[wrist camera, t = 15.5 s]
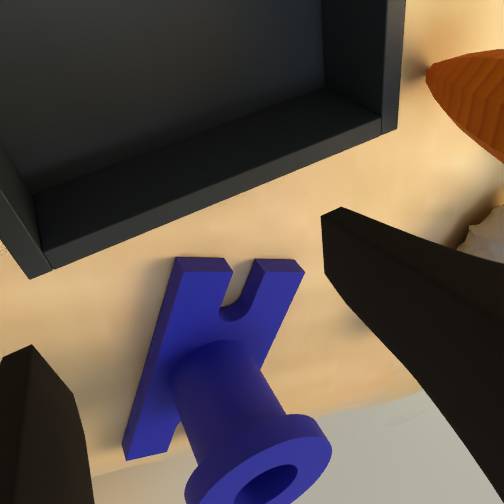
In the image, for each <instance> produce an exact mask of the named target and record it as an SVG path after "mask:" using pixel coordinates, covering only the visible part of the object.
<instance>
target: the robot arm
mask: <svg viewBox="0 0 504 504" xmlns="http://www.w3.org/2000/svg"><path fill="white" fill-rule="evenodd" d="M321 228H322V243H323V258H324V273H325V275H326V276H327V278H328V279H329V280H330V282H331V283H332V285H333V286H334V288H335V289H336V290H337V292H338V293H339V295H340V296H341V297H342V299H343V300H344V301H345V303H346V304H347V305H348V306H349V307H350V308H351V309H352V311H353V312H354V313H355V314H356V315H357V316H358V317H359V318H360V319H361V320H362V321H363V322H364V323H365V325H366V326H367V327H368V328H369V329H370V330H371V331H372V332H373V333H374V334H375V335H376V336H377V337H378V338H379V339H380V340H381V342H382V343H383V344H384V345H385V346H386V347H387V348H388V349H389V350H390V351H391V352H392V353H393V354H394V355H395V356H396V357H397V359H398V360H399V361H400V362H401V363H402V364H403V365H404V366H405V367H406V368H407V370H408V371H409V372H410V373H411V374H412V375H413V377H414V378H415V379H416V380H417V381H418V383H419V384H420V385H421V387H422V388H423V389H424V391H425V392H426V393H427V394H428V396H429V397H430V398H431V400H432V401H433V402H434V404H435V405H436V406H437V407H438V409H439V410H440V412H441V413H442V414H443V416H444V417H445V418H446V420H447V421H448V423H449V424H450V425H451V427H452V428H453V429H454V431H455V432H456V434H457V435H458V436H459V438H460V439H461V440H462V442H463V443H464V445H465V446H466V447H467V449H468V450H469V452H470V453H471V455H472V456H473V458H474V459H475V460H476V462H477V464H478V465H479V466H480V468H481V469H482V471H483V472H484V474H485V475H486V477H487V478H488V480H489V481H490V483H491V484H492V486H493V487H494V489H495V490H496V492H497V493H498V495H499V497H500V498H501V500H502V501H503V503H504V263H500V262H496V261H492V260H488V259H484V258H481V257H477V256H474V255H470V254H467V253H464V252H461V251H458V250H455V249H452V248H449V247H445V246H442V245H440V244H437V243H434V242H431V241H428V240H425V239H423V238H420V237H417V236H415V235H412V234H409V233H407V232H404V231H402V230H399V229H396V228H394V227H391V226H389V225H386V224H384V223H381V222H379V221H376V220H374V219H371V218H369V217H366V216H364V215H362V214H359V213H356V212H354V211H351V210H349V209H346V208H343V207H340V208H338V209H335V210H333V211H331V212H329V213H326V214H324V215H322V216H321ZM0 504H94V498H93V490H92V483H91V475H90V468H89V461H88V454H87V447H86V441H85V435H84V431H83V427H82V423H81V420H80V416H79V412H78V409H77V405H76V402H75V399H74V395H73V393H72V392H71V391H70V389H69V388H68V387H67V386H66V385H65V383H64V382H63V381H62V380H61V379H60V377H59V376H58V375H57V374H56V373H55V371H54V370H53V369H52V368H51V367H50V365H49V364H48V363H47V362H46V361H45V359H44V358H43V357H42V356H41V355H40V353H39V352H38V351H37V350H36V349H35V347H34V346H33V345H32V344H31V345H29V346H27V347H25V348H22V349H20V350H18V351H16V352H13V353H11V354H9V355H7V356H4V357H3V358H2V361H1V363H0Z"/></svg>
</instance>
